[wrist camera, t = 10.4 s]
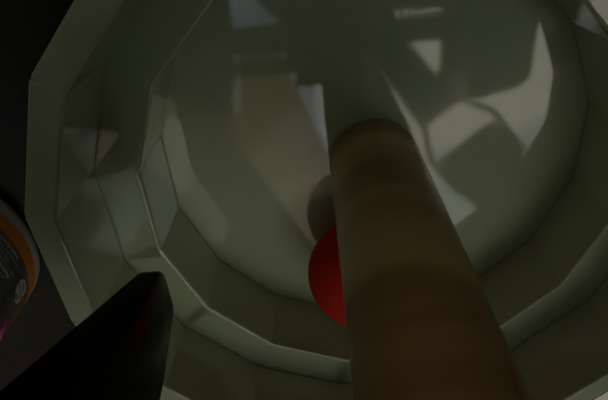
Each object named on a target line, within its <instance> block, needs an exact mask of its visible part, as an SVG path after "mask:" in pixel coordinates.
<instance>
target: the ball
mask: <svg viewBox="0 0 608 400" xmlns="http://www.w3.org/2000/svg"><path fill="white" fill-rule="evenodd" d="M308 280H309V286H310V289H311V292H312V295H313V297H314V299H315V301H316V302H317V304H318V305H319V307H320V308H321V309H322V310H323V311H324V312H325V314H326V315H328V316H329V317H330V318H331V319H333V320H335V321H336V322H338V323H340V324H342V325H344V326H346V319H345V309H344V300H343V290H342V280H341V270H340V261H339V251H338V241H337V232H336V225H335V226H333V227H332V228H331V229H329V230H328V231H327V232H326V233H325V234H324V235H323V236H322V237H321V238H320V239H319V241H318V242H317V243H316V245H315V247H314V249H313V251H312V254H311V256H310V260H309V266H308Z"/></svg>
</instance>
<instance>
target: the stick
mask: <svg viewBox="0 0 608 400" xmlns="http://www.w3.org/2000/svg"><path fill="white" fill-rule="evenodd" d="M330 173H331V183H332V193H333V202H334V212H335V222H336V232H337V241H338V251H339V261H340V270H341V280H342V290H343V300H344V309H345V319H346V329H347V339H348V348H349V358H350V368H351V377H352V387H353V397H354V400H533V398H532V396H531V393H530V391H529V389H528V387H527V385H526V382H525V380H524V378H523V376H522V374H521V371H520V369H519V367H518V365H517V363H516V361H515V358H514V356H513V354H512V352H511V350H510V347H509V345H508V343H507V341H506V339H505V336H504V334H503V332H502V330H501V328H500V325H499V323H498V321H497V319H496V317H495V315H494V312H493V310H492V308H491V306H490V304H489V301H488V299H487V297H486V295H485V293H484V290H483V288H482V286H481V284H480V282H479V279H478V277H477V275H476V273H475V271H474V268H473V266H472V264H471V262H470V260H469V258H468V255H467V253H466V251H465V249H464V247H463V244H462V242H461V240H460V238H459V236H458V233H457V231H456V229H455V227H454V225H453V222H452V220H451V218H450V216H449V214H448V212H447V209H446V207H445V205H444V203H443V201H442V198H441V196H440V194H439V192H438V190H437V187H436V185H435V183H434V181H433V179H432V176H431V174H430V172H429V170H428V168H427V165H426V163H425V161H424V159H423V157H422V155H421V152H420V150H419V148H418V146H417V144H416V141H415V140H414V138H413V136H412V135H411V134H410V133H409V132H408V131H407V130H406V129H405V128H404V127H402V126H401V125H399V124H397V123H394V122H391V121H387V120H380V119H376V120H367V121H363V122H360V123H358V124H355V125H353V126H352V127H350V128H349V129H347V130H346V131H345V132H344V133H342V134H341V135H340V137H339V138H338V139H337V141H336V142H335V144H334V146H333V148H332V151H331V154H330Z"/></svg>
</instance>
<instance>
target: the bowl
mask: <svg viewBox="0 0 608 400" xmlns="http://www.w3.org/2000/svg"><path fill="white" fill-rule="evenodd" d="M376 119H380V120H387V121H391V122H394V123H397V124H399V125H401V126H402V127H404V128H405V129H406V130H407V131H408V132H409V133H410V134H411V135H412V136H413V138H414V140H415V141H416V144H417V146H418V148H419V150H420V152H421V155H422V157H423V159H424V161H425V163H426V165H427V168H428V170H429V172H430V174H431V176H432V179H433V181H434V183H435V185H436V187H437V190H438V192H439V194H440V196H441V198H442V201H443V203H444V205H445V207H446V209H447V212H448V214H449V216H450V218H451V220H452V222H453V225H454V227H455V229H456V231H457V233H458V236H459V238H460V240H461V242H462V244H463V247H464V249H465V251H466V253H467V255H468V258H469V260H470V262H471V264H472V266H473V268H474V271H475V273H476V275H477V277H478V279H479V282H480V284H481V286H482V288H483V290H484V293H485V295H486V297H487V299H488V301H489V304H490V306H491V308H492V310H493V312H494V315H495V317H496V319H497V321H498V323H499V325H500V328H501V330H502V332H503V334H504V336H505V339H506V341H507V343H508V345H509V347H510V350H511V352H512V354H513V356H514V358H515V361H516V363H517V365H518V367H519V369H520V371H521V374H522V376H523V378H524V380H525V382H526V385H527V387H528V389H529V391H530V393H531V396H532V398H533V400H594V399H596V398H597V397H599V396H601V395H603V394H604V393H606V392H608V0H73V2H72V4H71V6H70V7H69V9H68V11H67V13H66V14H65V16H64V18H63V20H62V21H61V23H60V25H59V27H58V28H57V30H56V32H55V34H54V35H53V37H52V39H51V41H50V42H49V44H48V46H47V48H46V49H45V51H44V53H43V54H42V56H41V58H40V60H39V61H38V63H37V65H36V67H35V68H34V70H33V72H32V74H31V79H30V80H29V96H28V125H27V153H26V182H25V210H24V215H25V216H26V221H27V224H28V226H29V228H30V230H31V232H32V235H33V237H34V239H35V241H36V244H37V246H38V248H39V250H40V252H41V255H42V257H43V259H44V261H45V264H46V266H47V268H48V270H49V273H50V275H51V277H52V279H53V281H54V284H55V286H56V288H57V290H58V293H59V295H60V297H61V299H62V301H63V304H64V306H65V308H66V310H67V313H68V315H69V317H70V319H71V321H72V322H74V325H75V326H78V325H79V324H80V323H81V322H82V321H83V320H85V319H86V318H87V317H88V316H89V315H90V314H92V313H93V312H94V311H95V310H96V309H97V308H99V307H100V306H101V305H102V304H103V303H105V302H106V301H107V300H108V299H109V298H110V297H112V296H113V295H114V294H115V293H116V292H117V291H119V290H120V289H121V288H122V287H123V286H124V285H126V284H127V283H128V282H129V281H130V280H132V279H133V278H134V277H135V276H136V275H137V274H139V273H141V272H150V271H160V272H162V273H163V274H164V276H165V278H166V282H167V285H168V289H169V292H170V296H171V299H172V303H173V321H172V327H171V334H170V341H169V348H168V355H167V362H166V369H165V376H164V382H163V388H162V392H161V397H160V400H354V397H353V387H352V377H351V368H350V358H349V348H348V339H347V329H346V326H344V325H342V324H340V323H338V322H336V321H335V320H333V319H331V318H330V317H329V316H328V315H326V314H325V312H324V311H323V310H322V309H321V308H320V307H319V305H318V304H317V302H316V301H315V299H314V297H313V295H312V292H311V289H310V286H309V280H308V266H309V260H310V256H311V254H312V251H313V249H314V247H315V245H316V243H317V242H318V241H319V239H320V238H321V237H322V236H323V235H324V234H325V233H326V232H327V231H328V230H329V229H331V228H332V227H333V226H335V225H336V222H335V212H334V202H333V193H332V183H331V173H330V154H331V151H332V148H333V146H334V144H335V142H336V141H337V139H338V138H339V137H340V135H341V134H342V133H344V132H345V131H346V130H347V129H349V128H350V127H352V126H353V125H355V124H358V123H360V122H363V121H367V120H376Z"/></svg>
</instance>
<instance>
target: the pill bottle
mask: <svg viewBox="0 0 608 400" xmlns="http://www.w3.org/2000/svg"><path fill="white" fill-rule="evenodd" d="M39 268H40V258H39V253H38V249H37V246H36V243H35V241H34V238H33V236H32V234H31V233H30V231H29V229H28V227H27V226H26V224H25V223H24V221H23V220H22V219H21V218H20V216H19V215H18V214H17V213H16V212H15V211H14V210H13V209H12V208H11V207H10V206H9V205H8V204H7V203H6V202H4V201H3V200H2V199H0V341H1V340H2V338H3V336H4V335H5V333H6V332H7V330H8V329H9V327H10V326H11V324H12V322H13V321H14V320H15V319H16V317H17V316H18V314H19V312H20V310H21V309H22V307H23V306H24V304H25V303H26V301H27V299H28V298H29V296H30V294H31V293H32V291H33V289H34V287H35V285H36V282H37V279H38V276H39Z"/></svg>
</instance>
